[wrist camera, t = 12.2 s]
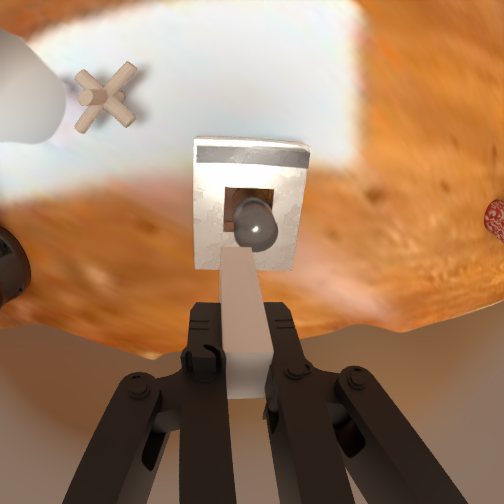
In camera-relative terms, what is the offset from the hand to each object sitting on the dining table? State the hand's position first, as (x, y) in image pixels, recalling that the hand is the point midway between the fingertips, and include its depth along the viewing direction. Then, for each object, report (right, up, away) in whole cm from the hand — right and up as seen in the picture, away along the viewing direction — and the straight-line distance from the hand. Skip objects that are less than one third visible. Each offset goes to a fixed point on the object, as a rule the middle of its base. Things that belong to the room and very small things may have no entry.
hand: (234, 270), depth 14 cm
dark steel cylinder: (0, +8, +25) cm, 26 cm away
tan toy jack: (-17, +21, +16) cm, 31 cm away
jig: (0, +8, +25) cm, 26 cm away
